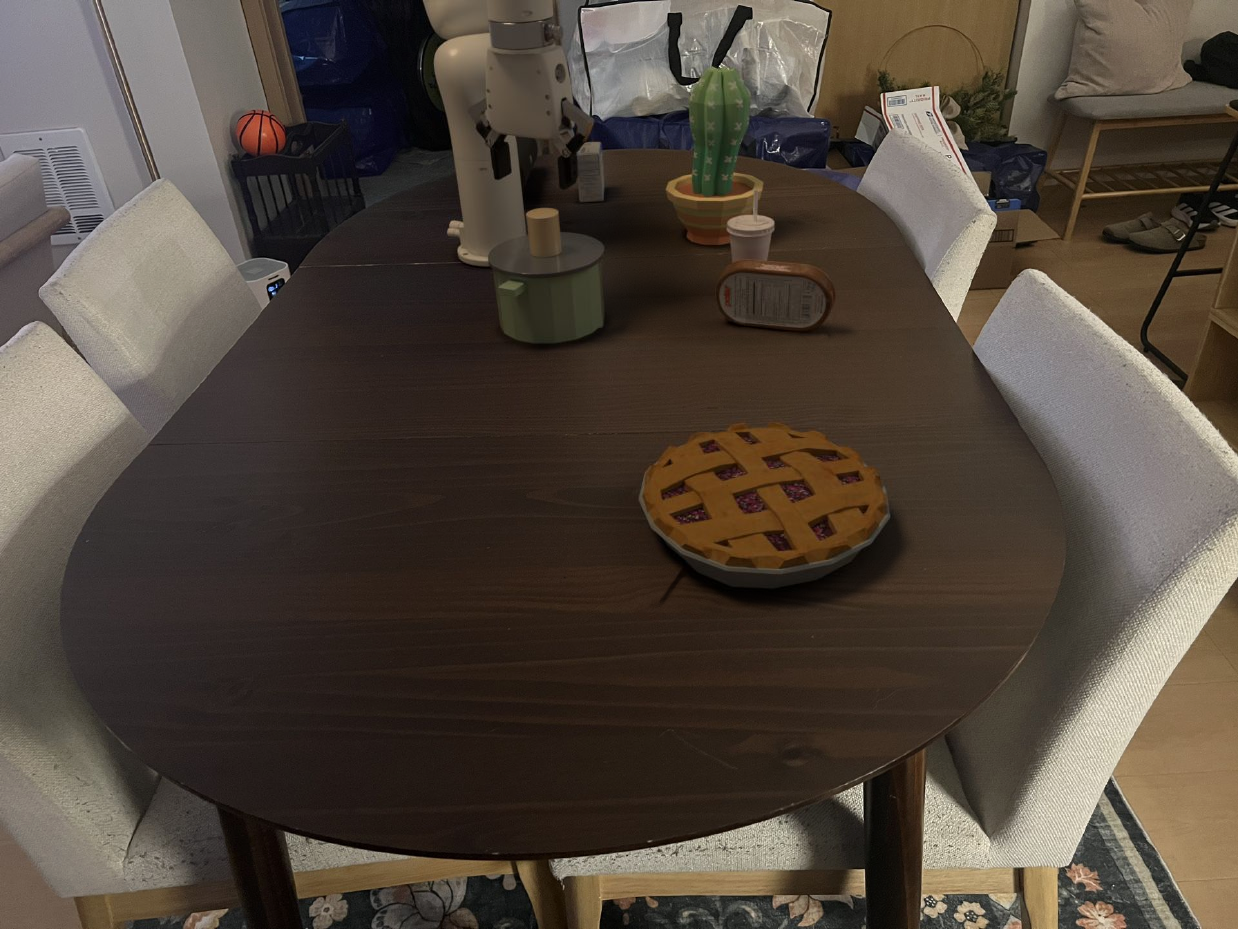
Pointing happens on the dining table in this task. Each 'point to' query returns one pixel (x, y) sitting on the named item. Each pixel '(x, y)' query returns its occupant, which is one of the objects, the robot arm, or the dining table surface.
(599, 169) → the medicine box
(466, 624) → the dining table surface
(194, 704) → the dining table surface
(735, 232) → the smoothie
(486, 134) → the robot arm
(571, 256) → the lid
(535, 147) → the portable speaker
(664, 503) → the pie
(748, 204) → the potted cactus
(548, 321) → the pot
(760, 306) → the tin
